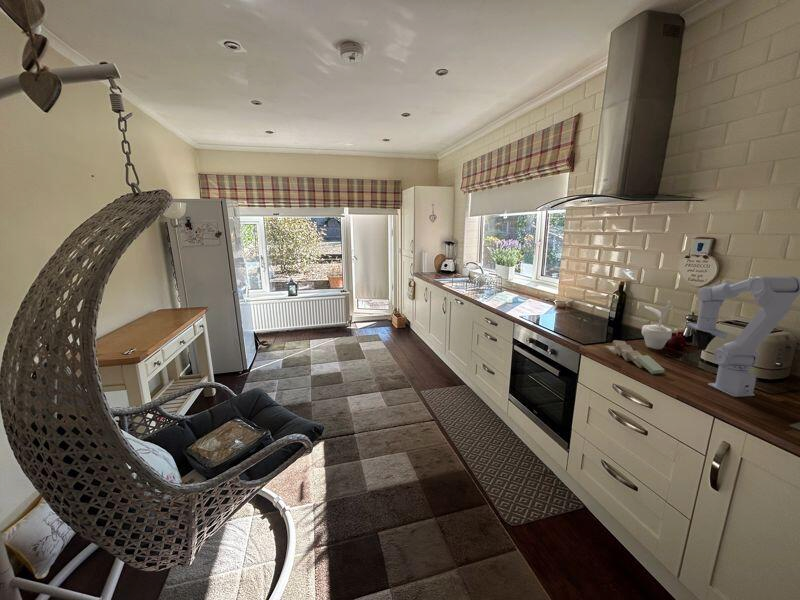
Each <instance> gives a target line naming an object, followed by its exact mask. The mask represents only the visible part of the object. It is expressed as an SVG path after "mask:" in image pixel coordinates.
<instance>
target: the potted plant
mask: <svg viewBox="0 0 800 600" xmlns="http://www.w3.org/2000/svg"><path fill="white" fill-rule="evenodd" d="M665 302H667V305H665V306H664V307H662V309H661V310H660V309H656V307H655V308H654V307H651V306H647V305H644V309H646V310H648V311H650V312H651V313H652V314H653V315H654V317H657V318H658V319H659V320H658V323H657V324H655V323H654V324H645V325H642V326H641V327H642V328H641V335H642V336H643V339H644V343H645V346H646V347H647V348H650V349H653V350H662V349H663V348H665V345H666V343H668V341H669V340H670V339H672V335H673V329H672V328H670V327H666V326H664V325H663V324H662V323H663V320H664V317H666V316H667V315H669V314H668V313H669V307H671V309H673V308H674V306H673V304H672V301H671V298H668V300H667V301H666V300H665ZM670 303H671V304H670Z"/></svg>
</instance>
